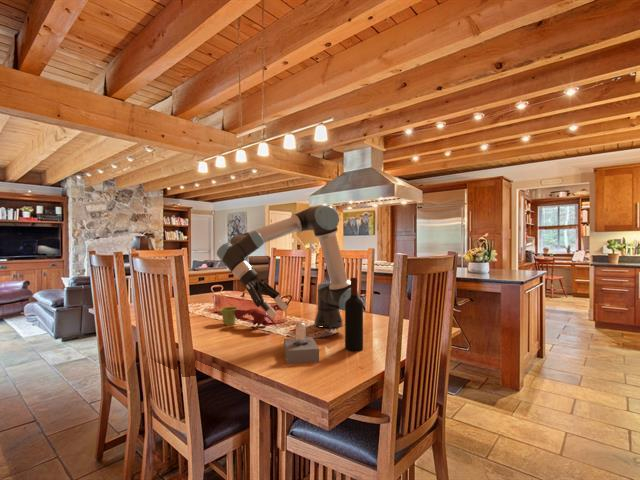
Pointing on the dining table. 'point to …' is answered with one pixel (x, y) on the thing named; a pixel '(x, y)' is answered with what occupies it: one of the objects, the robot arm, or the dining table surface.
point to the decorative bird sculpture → (254, 316)
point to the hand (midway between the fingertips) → (280, 312)
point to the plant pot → (228, 315)
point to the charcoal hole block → (301, 351)
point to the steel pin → (300, 333)
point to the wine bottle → (354, 320)
